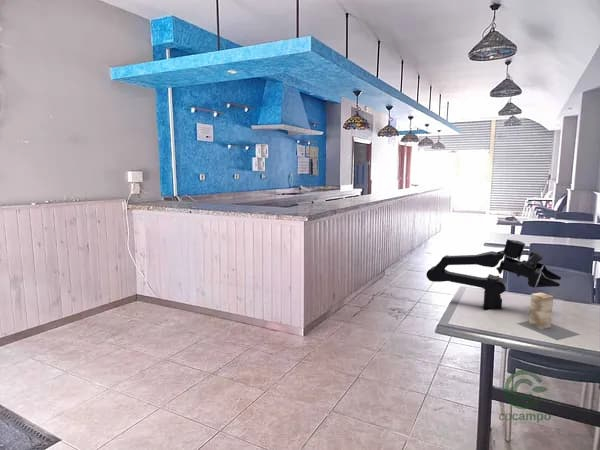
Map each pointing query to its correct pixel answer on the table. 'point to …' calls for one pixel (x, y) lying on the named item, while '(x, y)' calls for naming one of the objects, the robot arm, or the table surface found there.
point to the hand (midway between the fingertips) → (560, 281)
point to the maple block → (541, 310)
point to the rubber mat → (551, 331)
